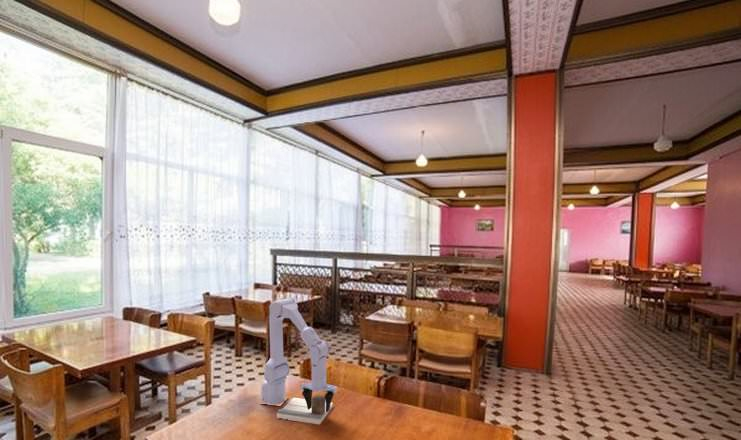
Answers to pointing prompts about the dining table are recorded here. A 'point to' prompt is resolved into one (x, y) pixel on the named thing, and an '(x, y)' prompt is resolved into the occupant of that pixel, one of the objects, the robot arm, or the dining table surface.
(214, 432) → the dining table surface
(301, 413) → the board
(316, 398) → the block
